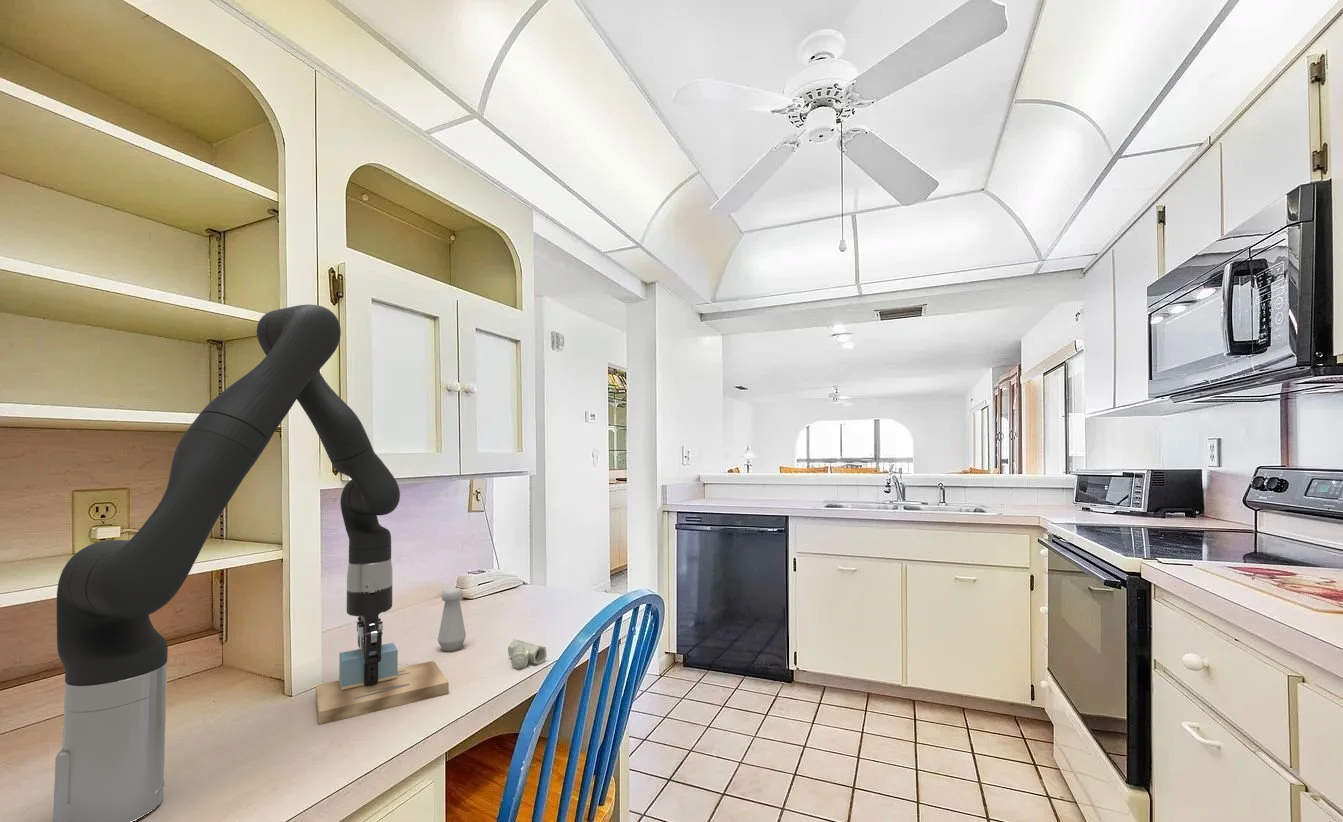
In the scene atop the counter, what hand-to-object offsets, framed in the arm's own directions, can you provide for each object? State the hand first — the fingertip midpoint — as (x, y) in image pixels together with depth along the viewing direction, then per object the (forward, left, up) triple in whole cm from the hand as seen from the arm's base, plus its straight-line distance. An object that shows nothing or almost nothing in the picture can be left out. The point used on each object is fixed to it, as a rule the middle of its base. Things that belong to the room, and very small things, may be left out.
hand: (369, 678), depth 106 cm
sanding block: (0, 0, 0) cm, 0 cm away
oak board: (+2, -3, -2) cm, 4 cm away
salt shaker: (+18, +15, -2) cm, 23 cm away
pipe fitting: (+28, -3, -3) cm, 28 cm away
